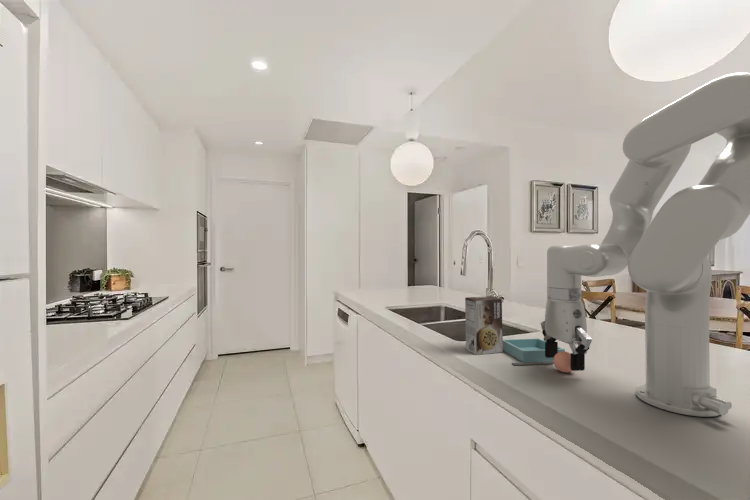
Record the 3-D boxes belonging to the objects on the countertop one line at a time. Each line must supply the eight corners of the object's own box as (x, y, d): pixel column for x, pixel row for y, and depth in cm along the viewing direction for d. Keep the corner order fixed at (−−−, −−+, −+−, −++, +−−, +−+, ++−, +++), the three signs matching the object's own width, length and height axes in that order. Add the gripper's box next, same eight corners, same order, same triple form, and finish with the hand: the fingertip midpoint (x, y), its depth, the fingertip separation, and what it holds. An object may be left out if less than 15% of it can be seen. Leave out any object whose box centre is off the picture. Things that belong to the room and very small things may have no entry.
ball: (581, 374, 83) (581, 354, 83) (562, 375, 82) (561, 355, 82) (567, 368, 88) (567, 348, 88) (549, 368, 87) (549, 349, 87)
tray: (564, 360, 94) (564, 349, 94) (523, 362, 93) (523, 351, 93) (538, 348, 106) (538, 338, 106) (501, 349, 105) (501, 339, 105)
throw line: (571, 363, 91) (571, 362, 91) (514, 366, 90) (514, 364, 90) (567, 361, 93) (567, 360, 93) (511, 364, 91) (511, 363, 91)
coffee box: (490, 347, 108) (490, 295, 108) (503, 352, 102) (503, 298, 102) (464, 349, 105) (464, 296, 106) (476, 355, 99) (475, 299, 99)
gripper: (604, 299, 77) (604, 375, 77) (555, 290, 94) (555, 352, 94) (574, 300, 76) (573, 376, 76) (529, 290, 93) (529, 353, 93)
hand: (563, 363), depth 85 cm, fingers open, 9 cm apart
